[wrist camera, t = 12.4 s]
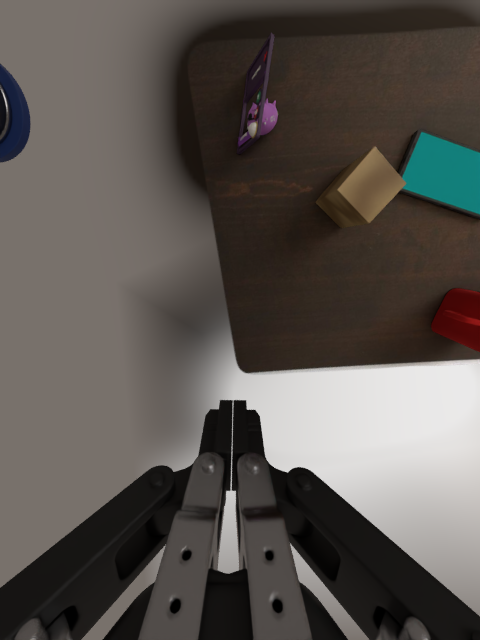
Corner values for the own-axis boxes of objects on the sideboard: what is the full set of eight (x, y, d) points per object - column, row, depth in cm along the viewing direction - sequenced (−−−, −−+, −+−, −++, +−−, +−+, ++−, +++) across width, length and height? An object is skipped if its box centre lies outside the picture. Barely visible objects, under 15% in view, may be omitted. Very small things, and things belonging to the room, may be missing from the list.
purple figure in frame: (265, 28, 24) (250, 134, 26) (308, 51, 26) (290, 148, 28) (241, 69, 30) (231, 152, 32) (278, 85, 31) (265, 163, 34)
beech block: (315, 202, 34) (337, 189, 27) (343, 169, 33) (374, 146, 26) (340, 228, 35) (369, 223, 28) (369, 197, 34) (406, 183, 27)
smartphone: (419, 128, 31) (518, 163, 32) (414, 131, 32) (511, 165, 33) (393, 188, 33) (487, 220, 34) (390, 190, 34) (482, 220, 35)
